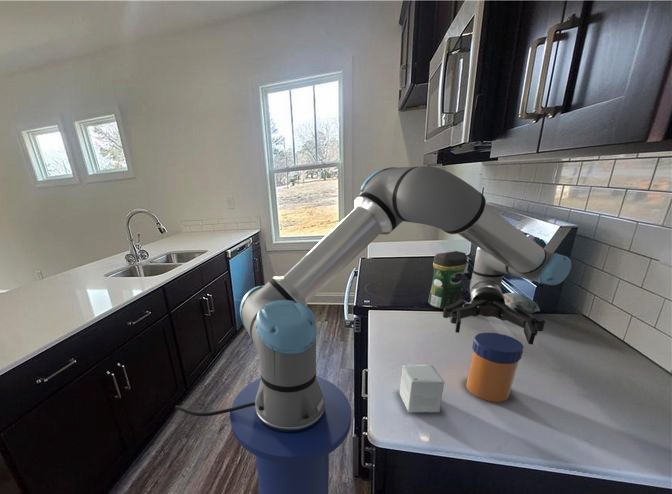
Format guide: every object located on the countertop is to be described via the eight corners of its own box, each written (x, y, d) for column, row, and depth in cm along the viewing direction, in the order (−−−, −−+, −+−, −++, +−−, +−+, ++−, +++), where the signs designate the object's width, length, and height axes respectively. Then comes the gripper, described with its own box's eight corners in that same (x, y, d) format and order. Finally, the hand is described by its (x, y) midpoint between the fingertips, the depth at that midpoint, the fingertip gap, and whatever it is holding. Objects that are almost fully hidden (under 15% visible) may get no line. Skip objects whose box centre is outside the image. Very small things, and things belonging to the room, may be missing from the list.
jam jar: (470, 398, 65) (480, 351, 61) (462, 377, 72) (471, 333, 68) (514, 404, 63) (528, 356, 59) (502, 382, 69) (513, 337, 65)
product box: (440, 413, 62) (445, 382, 59) (407, 413, 62) (411, 382, 60) (428, 393, 67) (432, 363, 65) (398, 393, 68) (402, 363, 65)
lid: (477, 360, 62) (480, 349, 61) (468, 340, 69) (470, 330, 68) (527, 366, 59) (530, 354, 58) (512, 345, 66) (515, 334, 65)
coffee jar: (445, 299, 114) (453, 248, 107) (464, 306, 106) (473, 252, 100) (423, 303, 111) (429, 251, 104) (440, 311, 104) (448, 256, 97)
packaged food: (508, 317, 98) (512, 302, 96) (489, 302, 108) (492, 289, 107) (539, 317, 96) (543, 302, 95) (516, 302, 107) (520, 289, 105)
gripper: (540, 318, 83) (562, 359, 65) (434, 305, 94) (428, 337, 77) (548, 292, 80) (572, 327, 63) (438, 281, 91) (433, 309, 74)
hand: (493, 332), depth 70 cm, fingers open, 13 cm apart
